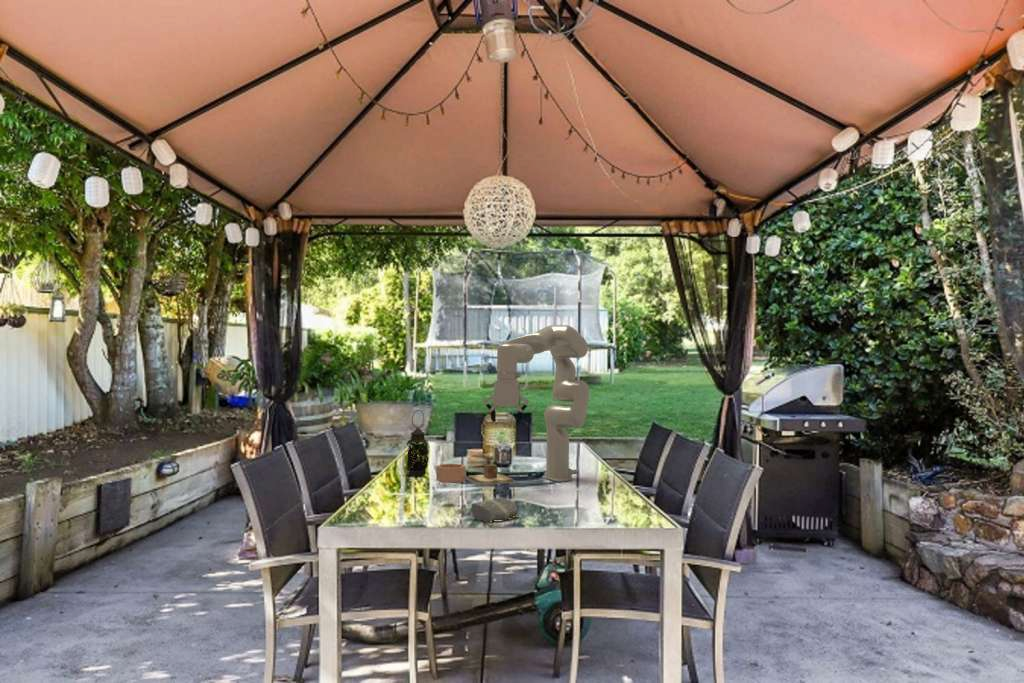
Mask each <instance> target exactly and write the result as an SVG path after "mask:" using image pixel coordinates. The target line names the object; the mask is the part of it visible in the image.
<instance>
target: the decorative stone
mask: <svg viewBox="0 0 1024 683" xmlns="http://www.w3.org/2000/svg"><path fill="white" fill-rule="evenodd" d="M518 510H519V509H518V507H517V506H516V505H515V504H514V501H512V500H510V499H507V498H504V497H496V498H493V499H487V500H484V501H480V502H479V501H478V502H474V503H471V514H472V518H474V520H475V519H477V520H476V521H478V520H485V521H494V520H504V521H508V520H507V519H508V518H512V517H513V516H517V514H518ZM512 519H513V518H512Z"/></svg>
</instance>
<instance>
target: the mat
mask: <svg viewBox="0 0 1024 683" xmlns="http://www.w3.org/2000/svg"><path fill="white" fill-rule="evenodd" d="M466 480H467V481H468V482H470V483H473V484H475V485H477V486H485V485H487V486H488V485H500V484H501V485H503V484H516V483H519V481H518V480H515V479H513V482H502V483H488V484H480V483H478V482H476V481H474V480H471V479H469V478H468V476H466ZM466 480H465V481H466Z"/></svg>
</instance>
